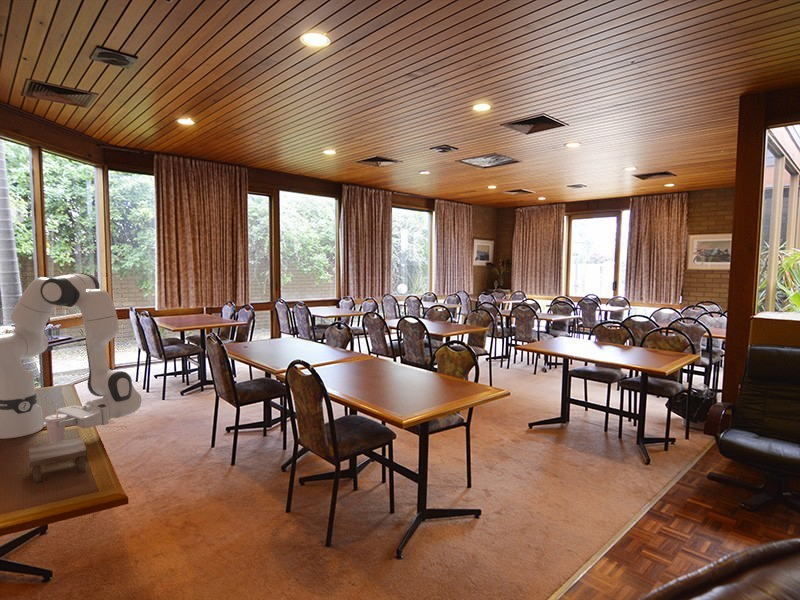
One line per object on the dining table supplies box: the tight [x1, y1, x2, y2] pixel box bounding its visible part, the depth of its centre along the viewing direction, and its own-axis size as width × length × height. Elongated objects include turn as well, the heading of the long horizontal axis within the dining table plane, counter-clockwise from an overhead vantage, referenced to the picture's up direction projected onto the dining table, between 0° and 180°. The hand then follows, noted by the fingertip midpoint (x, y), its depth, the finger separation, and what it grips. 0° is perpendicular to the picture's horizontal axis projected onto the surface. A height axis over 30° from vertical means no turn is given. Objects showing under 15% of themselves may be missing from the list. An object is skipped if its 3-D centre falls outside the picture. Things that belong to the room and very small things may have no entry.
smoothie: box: [44, 403, 67, 444], centre depth 164 cm, size 6×6×14 cm
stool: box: [28, 437, 88, 484], centre depth 148 cm, size 14×14×7 cm
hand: (53, 422), depth 163 cm, fingers closed on smoothie, 6 cm apart
